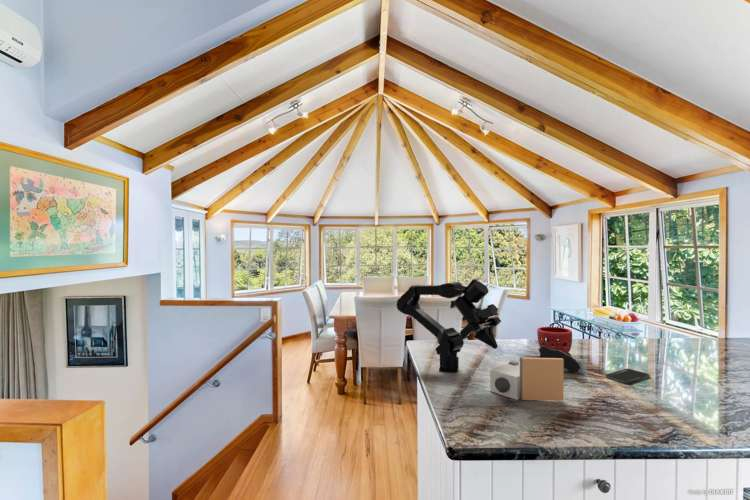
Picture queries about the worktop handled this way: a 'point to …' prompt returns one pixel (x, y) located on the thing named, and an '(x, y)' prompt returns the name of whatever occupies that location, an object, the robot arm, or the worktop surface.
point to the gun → (554, 353)
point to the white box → (506, 379)
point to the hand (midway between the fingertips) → (496, 348)
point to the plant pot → (555, 338)
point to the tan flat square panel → (541, 378)
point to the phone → (627, 376)
